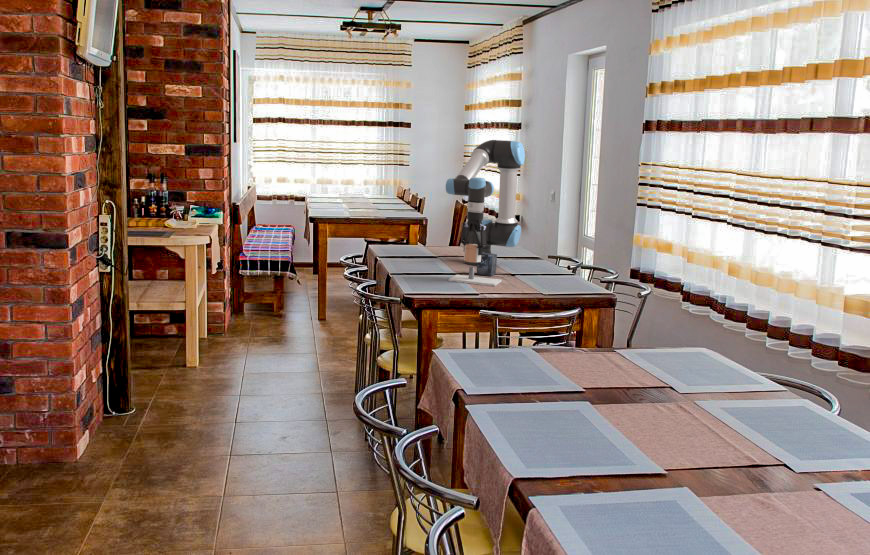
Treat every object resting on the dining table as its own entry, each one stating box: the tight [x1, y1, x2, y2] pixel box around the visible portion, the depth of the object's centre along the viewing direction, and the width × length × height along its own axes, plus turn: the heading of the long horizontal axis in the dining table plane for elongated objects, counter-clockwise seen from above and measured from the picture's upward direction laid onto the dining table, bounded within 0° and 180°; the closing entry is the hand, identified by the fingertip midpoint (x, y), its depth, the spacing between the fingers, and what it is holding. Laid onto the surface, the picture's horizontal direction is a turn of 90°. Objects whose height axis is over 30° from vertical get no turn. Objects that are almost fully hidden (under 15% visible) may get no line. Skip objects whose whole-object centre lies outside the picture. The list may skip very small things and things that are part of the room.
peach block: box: [465, 244, 478, 263], centre depth 392 cm, size 7×7×8 cm
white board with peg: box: [448, 266, 503, 287], centre depth 393 cm, size 13×22×6 cm, turn 72°
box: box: [476, 252, 498, 277], centre depth 411 cm, size 8×6×11 cm
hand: (472, 260), depth 392 cm, fingers closed on peach block, 7 cm apart
